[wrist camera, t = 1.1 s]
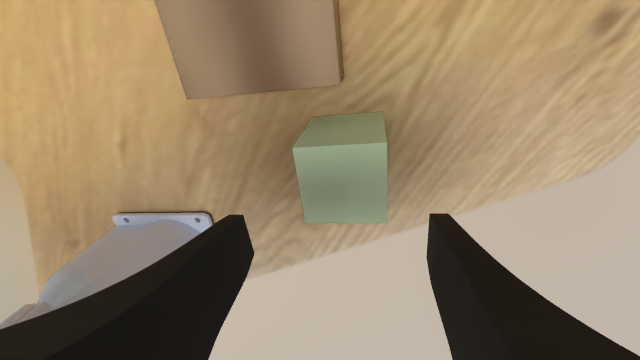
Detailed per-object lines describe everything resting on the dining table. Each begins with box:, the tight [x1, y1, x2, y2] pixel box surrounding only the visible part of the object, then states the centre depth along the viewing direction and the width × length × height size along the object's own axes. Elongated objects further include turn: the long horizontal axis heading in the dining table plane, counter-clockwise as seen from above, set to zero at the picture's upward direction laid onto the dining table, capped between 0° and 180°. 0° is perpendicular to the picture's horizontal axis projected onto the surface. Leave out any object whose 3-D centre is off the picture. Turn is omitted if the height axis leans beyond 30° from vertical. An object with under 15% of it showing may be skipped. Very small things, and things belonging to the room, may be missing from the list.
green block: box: [292, 112, 388, 223], centre depth 17 cm, size 4×4×6 cm
